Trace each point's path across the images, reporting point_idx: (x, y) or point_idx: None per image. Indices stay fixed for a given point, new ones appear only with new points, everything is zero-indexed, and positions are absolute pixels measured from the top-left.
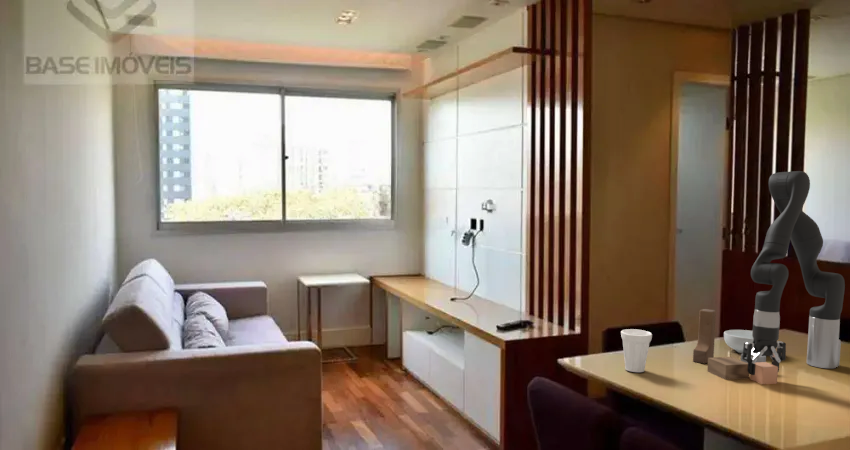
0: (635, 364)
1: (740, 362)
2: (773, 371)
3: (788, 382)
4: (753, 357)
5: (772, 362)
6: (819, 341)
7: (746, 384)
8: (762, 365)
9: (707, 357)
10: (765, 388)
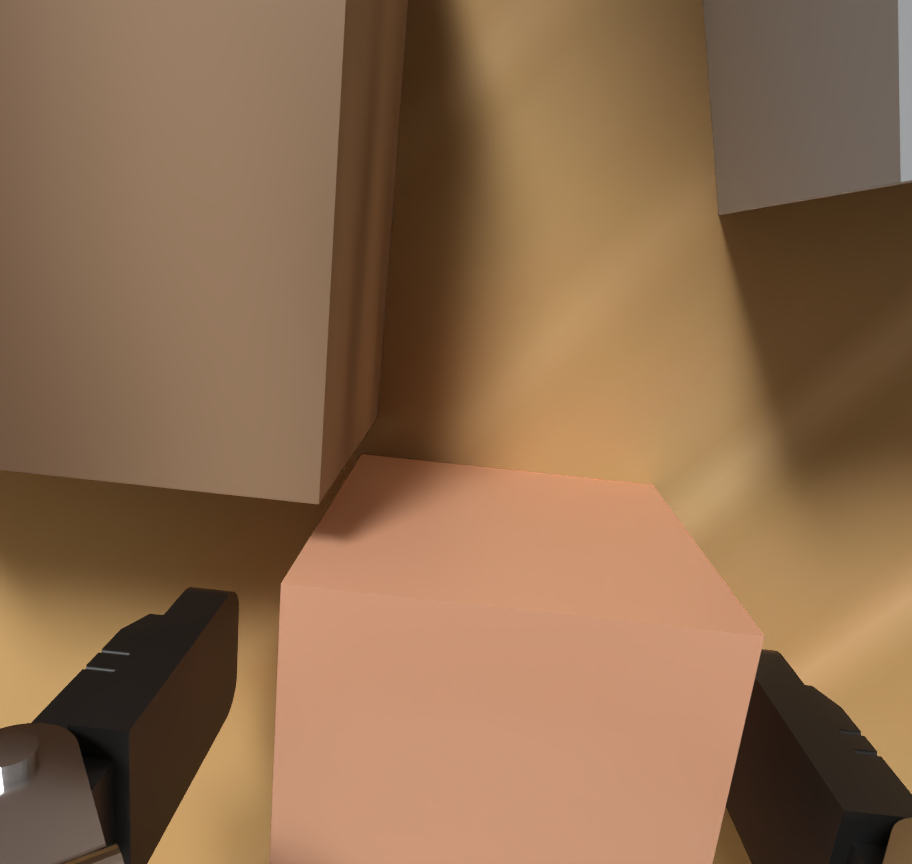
0: None
1: (163, 313)
2: None
3: None
4: (899, 96)
5: (821, 819)
6: None
7: (88, 655)
8: (382, 848)
9: None
10: (235, 851)
